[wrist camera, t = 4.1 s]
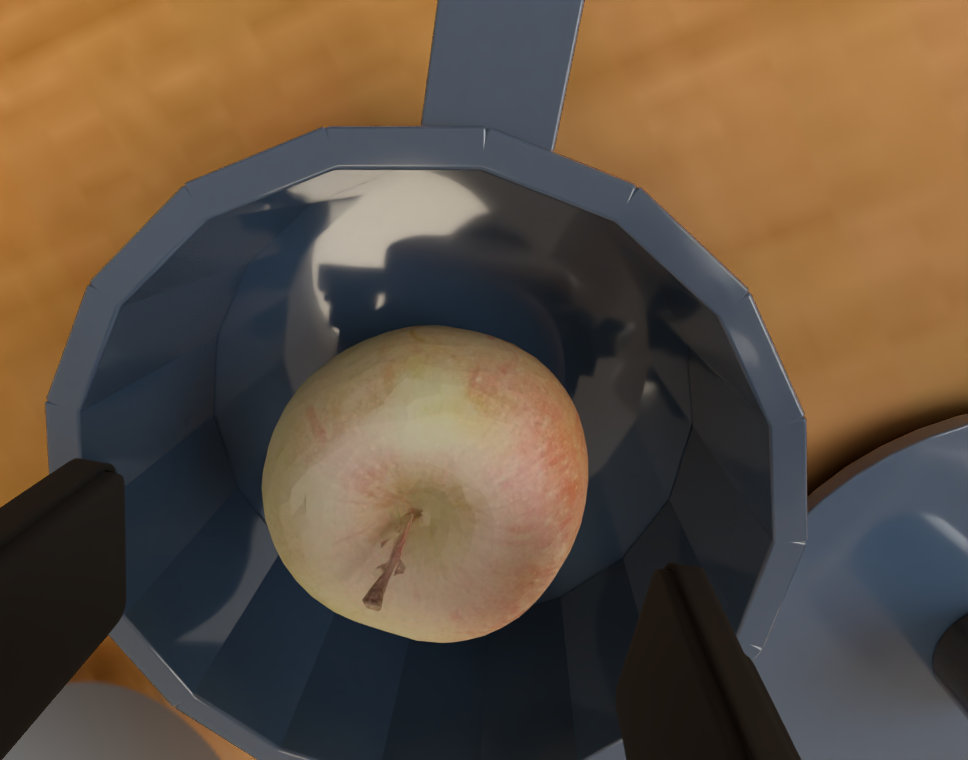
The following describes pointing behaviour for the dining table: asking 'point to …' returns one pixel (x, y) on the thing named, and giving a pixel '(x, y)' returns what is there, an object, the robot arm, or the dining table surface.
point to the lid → (880, 608)
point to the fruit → (427, 482)
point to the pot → (417, 302)
